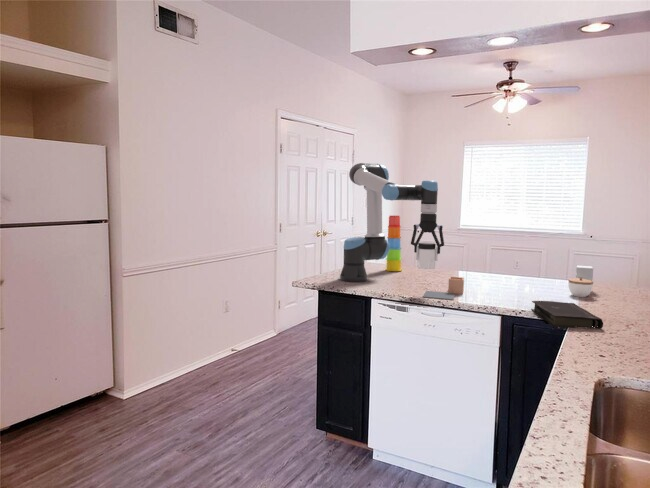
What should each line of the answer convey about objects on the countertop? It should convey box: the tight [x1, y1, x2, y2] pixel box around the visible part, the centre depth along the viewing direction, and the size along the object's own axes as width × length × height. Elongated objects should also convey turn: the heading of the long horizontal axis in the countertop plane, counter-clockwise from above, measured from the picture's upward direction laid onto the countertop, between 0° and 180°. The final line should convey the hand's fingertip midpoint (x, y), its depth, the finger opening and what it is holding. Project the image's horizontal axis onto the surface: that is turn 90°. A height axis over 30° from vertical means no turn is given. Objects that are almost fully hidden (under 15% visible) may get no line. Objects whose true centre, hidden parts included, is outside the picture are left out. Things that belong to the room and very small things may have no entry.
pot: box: [447, 276, 465, 295], centre depth 235 cm, size 7×7×7 cm
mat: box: [422, 290, 456, 301], centre depth 226 cm, size 14×14×1 cm
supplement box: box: [575, 265, 594, 292], centre depth 244 cm, size 7×7×13 cm
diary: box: [530, 300, 604, 329], centre depth 188 cm, size 19×25×5 cm
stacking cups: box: [385, 215, 403, 272], centre depth 293 cm, size 10×10×35 cm
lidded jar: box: [568, 277, 594, 298], centre depth 232 cm, size 11×11×9 cm
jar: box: [416, 241, 437, 270], centre depth 227 cm, size 9×8×12 cm
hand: (426, 259), depth 228 cm, fingers closed on jar, 8 cm apart
